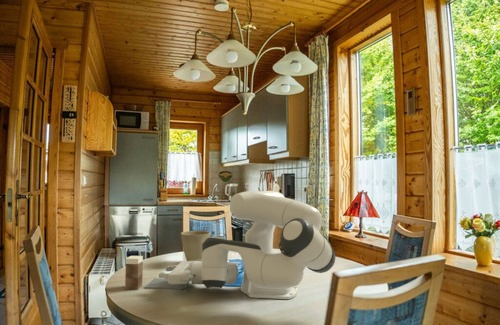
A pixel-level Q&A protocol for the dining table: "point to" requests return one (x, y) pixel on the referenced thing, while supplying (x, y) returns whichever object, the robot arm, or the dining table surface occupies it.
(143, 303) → the dining table surface
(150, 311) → the dining table surface
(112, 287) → the dining table surface
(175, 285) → the grey mat
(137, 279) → the walnut block
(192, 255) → the plant pot
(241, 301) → the dining table surface
